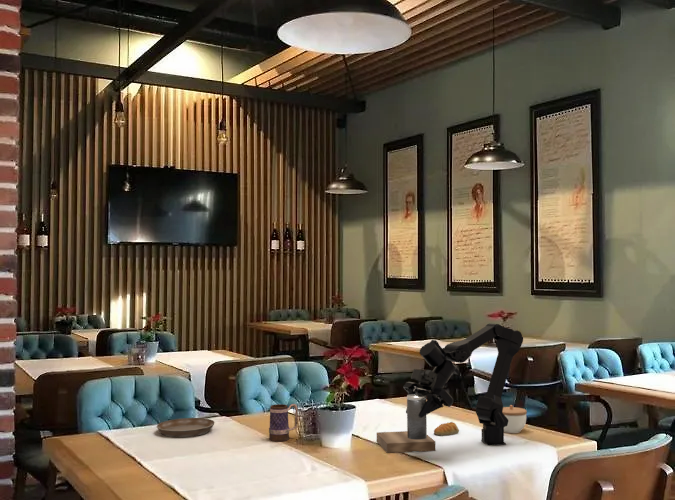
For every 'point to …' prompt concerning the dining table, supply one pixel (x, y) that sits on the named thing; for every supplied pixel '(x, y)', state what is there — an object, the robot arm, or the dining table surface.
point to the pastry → (446, 429)
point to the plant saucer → (185, 427)
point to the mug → (280, 422)
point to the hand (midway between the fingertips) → (413, 415)
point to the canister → (416, 417)
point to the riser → (403, 442)
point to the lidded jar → (514, 419)
